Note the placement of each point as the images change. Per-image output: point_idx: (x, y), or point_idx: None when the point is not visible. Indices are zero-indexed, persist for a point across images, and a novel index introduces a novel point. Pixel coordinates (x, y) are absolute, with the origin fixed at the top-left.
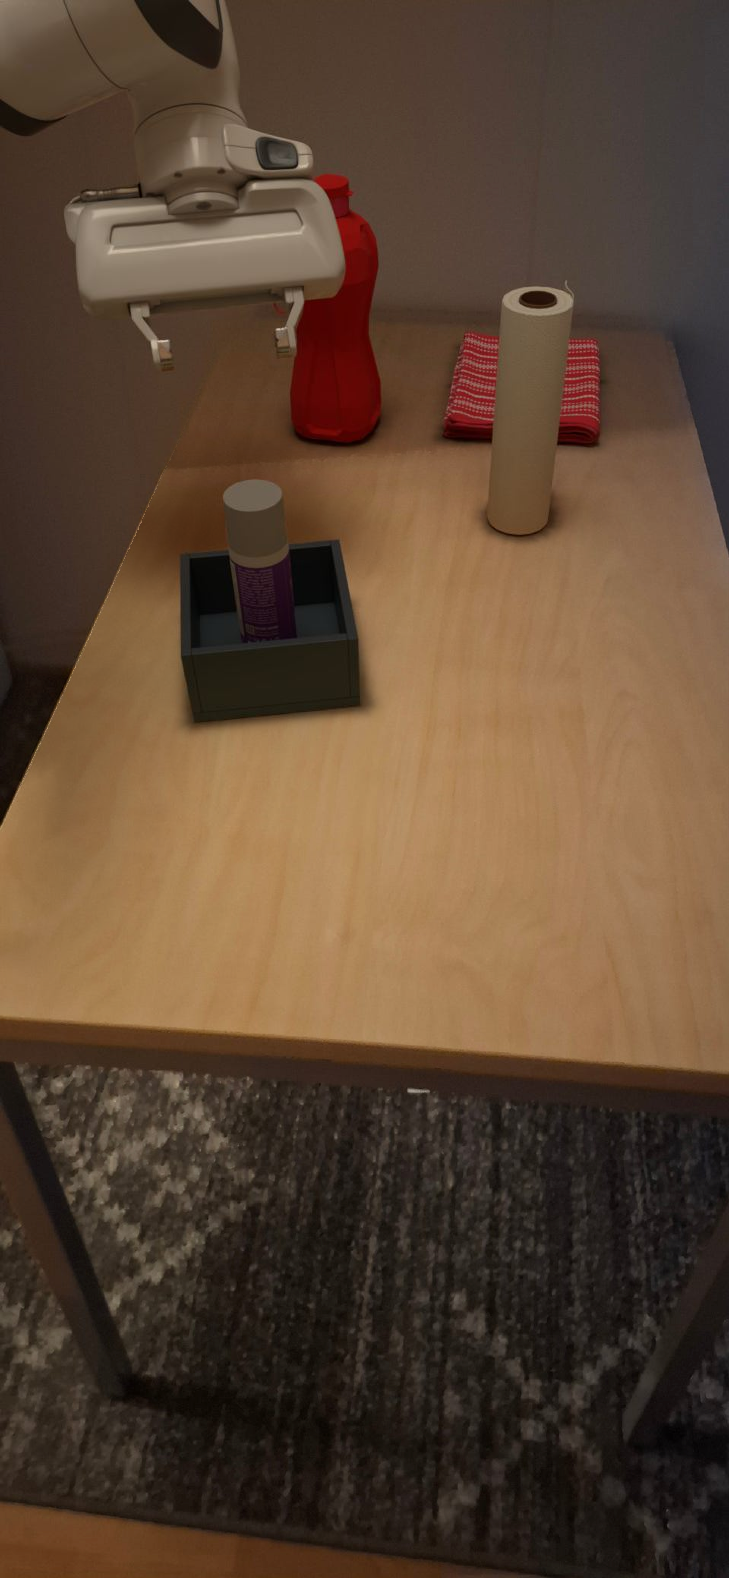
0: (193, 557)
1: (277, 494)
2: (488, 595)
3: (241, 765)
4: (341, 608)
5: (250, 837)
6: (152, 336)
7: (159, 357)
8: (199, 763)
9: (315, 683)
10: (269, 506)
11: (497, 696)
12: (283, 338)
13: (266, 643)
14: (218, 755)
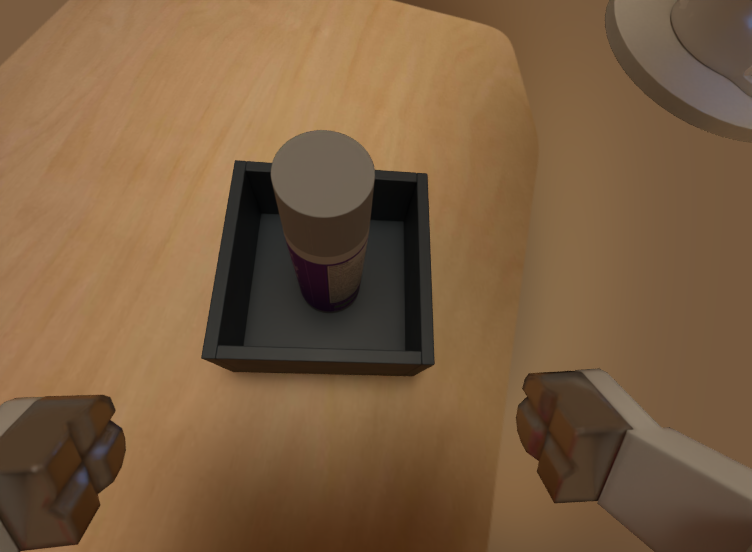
0: (416, 352)
1: (280, 164)
2: (43, 359)
3: None
4: (239, 227)
5: (369, 104)
6: (664, 444)
7: (587, 377)
8: None
9: None
10: (299, 136)
11: (120, 197)
12: (37, 426)
13: None
14: None
